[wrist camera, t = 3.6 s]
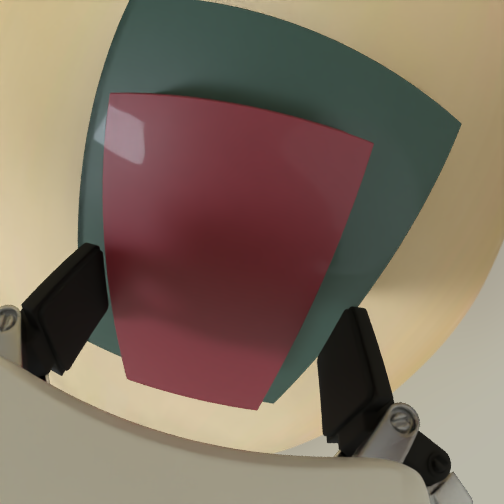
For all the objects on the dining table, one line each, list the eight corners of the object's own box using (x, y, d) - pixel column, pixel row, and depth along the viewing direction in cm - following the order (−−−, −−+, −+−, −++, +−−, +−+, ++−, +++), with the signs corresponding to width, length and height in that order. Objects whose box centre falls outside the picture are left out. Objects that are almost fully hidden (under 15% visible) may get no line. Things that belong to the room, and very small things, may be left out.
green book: (150, 7, 8) (131, -5, 6) (437, 118, 9) (462, 123, 8) (97, 321, 17) (85, 340, 16) (274, 381, 19) (273, 403, 17)
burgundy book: (152, 93, 8) (109, 92, 6) (345, 131, 8) (374, 143, 6) (144, 339, 15) (127, 379, 12) (260, 366, 15) (257, 410, 12)
